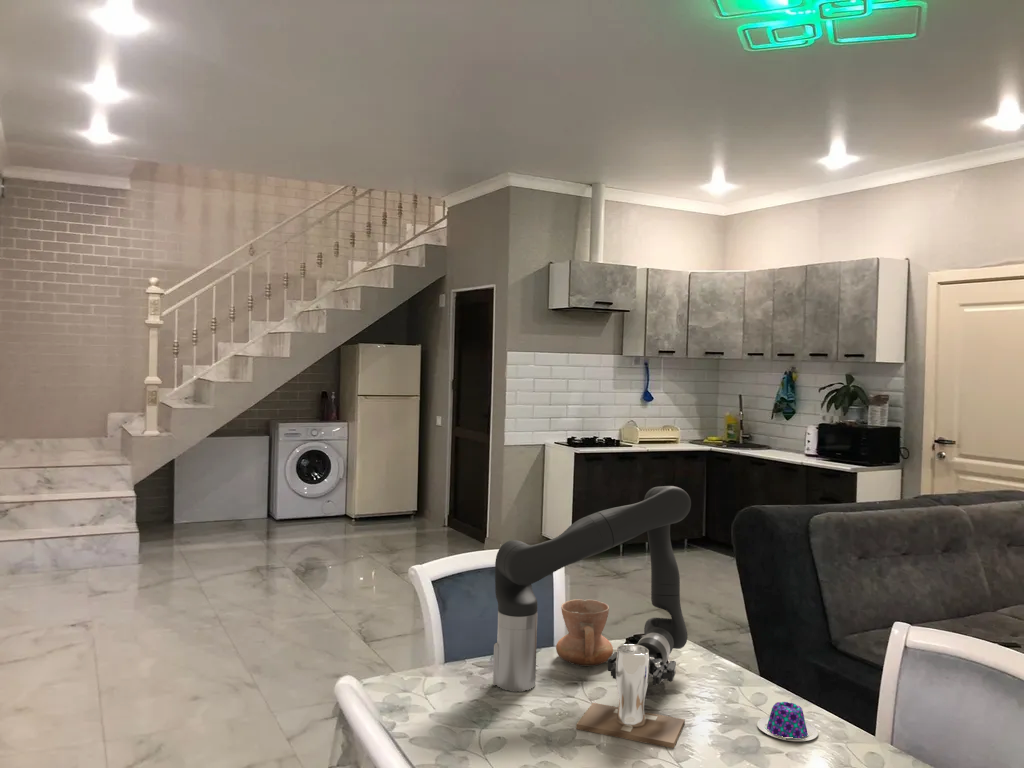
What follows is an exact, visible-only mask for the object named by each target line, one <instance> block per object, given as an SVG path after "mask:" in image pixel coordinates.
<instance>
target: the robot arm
mask: <svg viewBox="0 0 1024 768" xmlns="http://www.w3.org/2000/svg"><path fill="white" fill-rule="evenodd" d="M691 507H692V500H691V497H690V495H689V494H688V493H687V491H685V490H684V488H683V489H682V488H681V487H678V486H674V485H664V486H663V485H662V486H655V487H651V488H650V489H649V490H648V491H647V492H646V494H645V495H644V498H643V500H642V501H639V502H636V503H632V504H626V505H621V506H616V507H610V508H608V509H607V508H606V509H603V510H600V511H597V512H593V513H592V514H588V515H586V516H584V517H581V518H579V519H578V520H576V521H574V522H573V523H572V524H571V525H570V526H568V527H567V529H565V530H564V531H563V532H562V533H560V534H559V535H557V536H555V537H554V538H551V539H549V540H548V539H547V540H546V541H543V542H539V543H536V544H528V543H526V542H525V541H524V542H523V541H521V540H517V539H513V540H512V539H511V540H508V541H506V542H504V543H503V544H502V545H501V546H500V547H499V549H498V551H497V554H496V557H495V562H494V563H495V565H494V572H495V573H494V579H495V580H494V583H495V584H494V586H495V587H494V589H495V590H494V591H495V598H496V601H497V632H496V633H497V636H496V639H497V642H495V643H494V644H493V664H492V665H493V668H492V672H493V673H492V685H493V686H495V685H497V686H496V687H498V688H499V687H500V688H499V689H501V688H502V689H501V690H504V689H505V690H504V691H507V690H510V691H509V692H517V691H519V692H526V691H525V690H527V691H530V690H532V689H534V688H535V687H536V681H537V680H536V679H537V672H536V671H537V644H538V643H537V641H538V636H537V634H538V633H537V632H538V630H537V629H538V599H537V597H536V595H535V593H534V591H533V586H532V584H534V583H537V582H539V581H540V580H542V579H544V578H546V577H548V576H549V575H551V574H553V573H555V572H557V571H558V570H561V569H563V568H564V567H567V566H569V565H571V564H575V563H578V562H580V561H583V560H585V559H588V558H589V557H592V556H595V555H599V554H600V553H603V552H606V551H607V550H610V549H613V548H615V547H616V546H619V545H621V544H623V543H625V542H628V541H630V540H632V539H635V538H636V537H638V536H640V535H642V534H644V533H646V532H647V538H648V539H647V540H648V548H649V557H650V571H651V573H650V574H651V575H650V579H651V580H650V581H651V582H650V584H651V585H650V586H651V587H650V593H651V594H650V595H651V597H650V598H651V600H650V601H651V605H652V606H654V607H655V608H657V609H661V610H664V611H666V612H667V613H668V614H669V615H670V617H671V618H670V617H668V618H667V617H651V618H648V619H647V620H646V622H645V623H644V629H643V634H644V635H643V636H642V637H641V638H640V639H639V641H638V642H637V643H636V645H641V646H644V647H646V648H648V650H649V677H651V678H652V686H655V687H656V686H657V685H660V684H661V682H663V681H664V680H666V681H667V682H673V681H674V679H675V675H676V671H677V668H676V667H677V666H676V664H677V661H675V660H670V661H669V662H668V660H669V657H670V655H671V653H672V651H673V650H681V649H683V648H684V647H685V646H686V644H687V642H688V638H689V637H688V635H689V634H688V630H687V625H686V623H685V619H684V615H683V611H682V605H681V595H680V594H681V593H680V591H681V587H680V585H681V583H680V581H681V580H680V579H681V578H680V571H679V567H678V563H677V560H676V557H675V554H674V550H673V547H672V541H671V525H672V524H677V523H679V522H681V521H683V520H684V519H685V518H686V517H687V516H688V514H689V513H690V511H691ZM616 656H617V651H615V652H613V653H612V655H611V656H610V657H609V658H608V661H607V671H608V672H610V676H611V677H612V679H614V680H616ZM534 686H535V687H534ZM533 687H534V688H533ZM531 688H532V689H531ZM529 689H530V690H529Z"/></svg>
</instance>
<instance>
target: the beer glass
mask: <svg viewBox="0 0 1024 768" xmlns="http://www.w3.org/2000/svg"><path fill="white" fill-rule="evenodd" d="M636 644H637V643H636ZM636 644H633V643H625V644H624V643H623V644H620V645H619V646H617V647H616V652H617V656H616V679H615V682H616V688H617V689H616V690H617V696H618V706H617V707H618V712H617V717H616V720H617V722H618V723H619V724H621V725H623V726H627V727H641V726H643V725H645V723H646V717H645V712H646V711H645V702H646V701H645V700H646V696H647V691H648V685H649V680H650V676H649V650H648V648H646V647H644V646H641V645H636Z"/></svg>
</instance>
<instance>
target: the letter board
mask: <svg viewBox="0 0 1024 768" xmlns="http://www.w3.org/2000/svg"><path fill="white" fill-rule="evenodd" d="M618 707H619V706H614V705H613V706H612V705H608V704H602V703H596V702H592V703H591V704H590V705H589V707H588V708H587V709H586V711H585V712H584V713H583V714H582V716H581V717H580V719H579V720H578V721H577V722H576V724H575V725H576V726H575V729H576V730H581V731H586V732H591V733H595V734H601V735H606V736H610V737H616V738H621V739H626V740H629V741H635V742H641V743H645V744H649V745H656V746H662V747H665V748H670V749H674V748H675V747H676V744H677V742H678V740H679V738H680V735H681V733H682V731H683V728H684V726H685V724H686V722H685V720H686V719H684V718H679V717H673V716H667V715H662V714H656V713H651V712H646V711H645V717H646V723H645V725H643V726H641V727H627V726H623V725H621V724H619V723H618V722H617V720H616V717H617V712H618Z"/></svg>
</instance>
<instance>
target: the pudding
mask: <svg viewBox="0 0 1024 768" xmlns="http://www.w3.org/2000/svg"><path fill="white" fill-rule="evenodd" d="M767 723H768V724H767ZM756 724H757V728H758V729H759V730H760V731H762V732H763V733H765V734H767V735H768V736H771V737H773V738H776V739H780V740H783V741H789V742H806V741H807V742H808V741H811V740H814V739H816V738H817V737H818V736H819V730H817V728H816V726H814V725H812V724H811V723H808V722H806V720H805V715H804V710H803V708H802V707H801V706H800V705H798V704H796V703H794V702H788V701H782V702H781V701H779V702H775V704H774V705H772V707H771V712H770V714H769V715H768V716H764V717H762V718H759V719H758V721H757V723H756ZM765 724H767V726H766V727H767V728H766V729H767V730H768V729H769V730H768V731H769V732H770V733H771V734H770V733H769V732H767V730H766V729H765V728H764V726H765ZM807 728H808V729H809V730H810V732H811V733H812V732H813V733H812V734H813V735H812V736H810V737H809V738H807V739H804V740H786V739H787V738H786V739H782V737H781V738H778V737H780V736H783V737H793V738H802V739H803V738H806V737H805V736H807V735H809V733H808V731H807ZM772 733H773V735H772ZM774 734H777V735H776V736H778V737H776V736H774ZM779 735H780V736H779ZM802 736H804V737H802ZM793 738H792V739H793Z"/></svg>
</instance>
